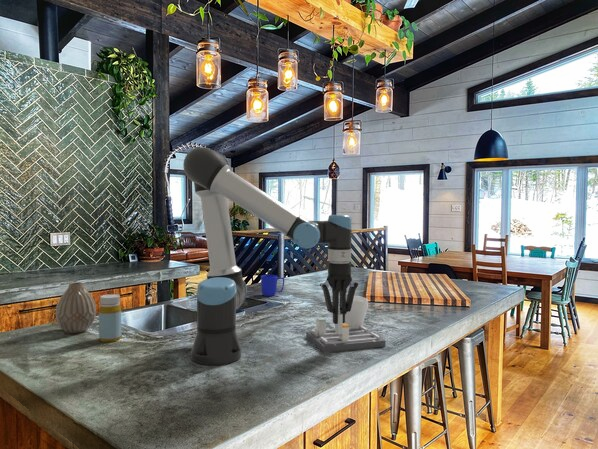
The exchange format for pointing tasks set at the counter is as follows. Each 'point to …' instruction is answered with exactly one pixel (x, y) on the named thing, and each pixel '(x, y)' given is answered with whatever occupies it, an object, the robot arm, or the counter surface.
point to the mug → (270, 284)
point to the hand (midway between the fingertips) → (338, 333)
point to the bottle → (110, 318)
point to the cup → (357, 312)
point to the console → (357, 340)
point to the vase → (75, 309)
